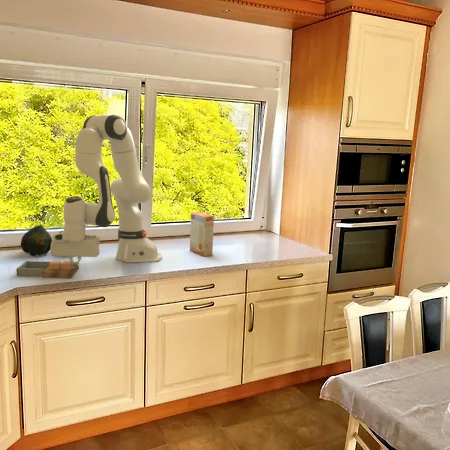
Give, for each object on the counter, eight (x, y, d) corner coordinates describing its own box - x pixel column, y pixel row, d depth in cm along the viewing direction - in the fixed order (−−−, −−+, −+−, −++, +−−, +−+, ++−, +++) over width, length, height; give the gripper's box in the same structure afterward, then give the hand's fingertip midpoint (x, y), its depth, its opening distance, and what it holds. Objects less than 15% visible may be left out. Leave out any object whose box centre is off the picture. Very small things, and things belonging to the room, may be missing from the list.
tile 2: (72, 266, 211) (72, 261, 210) (70, 269, 207) (70, 263, 206) (63, 266, 210) (63, 260, 210) (61, 269, 206) (61, 263, 206)
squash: (15, 248, 226) (36, 223, 228) (15, 242, 240) (35, 219, 242) (40, 265, 232) (61, 241, 234) (38, 259, 245) (58, 236, 248)
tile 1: (61, 266, 210) (61, 260, 210) (58, 269, 206) (58, 263, 206) (52, 266, 210) (51, 260, 210) (49, 268, 206) (49, 263, 206)
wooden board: (79, 268, 216) (79, 263, 216) (71, 278, 202) (71, 272, 202) (52, 268, 215) (51, 263, 215) (42, 277, 202) (42, 272, 201)
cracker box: (213, 255, 248) (214, 215, 244) (203, 257, 245) (204, 216, 241) (199, 249, 259) (200, 211, 255) (189, 250, 256) (190, 212, 252)
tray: (51, 269, 214) (51, 261, 214) (43, 277, 203) (42, 269, 202) (26, 268, 213) (26, 260, 213) (16, 276, 202) (16, 268, 201)
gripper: (100, 233, 210) (101, 264, 212) (52, 232, 208) (53, 263, 211) (98, 237, 203) (98, 268, 206) (48, 235, 202) (49, 267, 205)
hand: (75, 266), depth 208 cm, fingers closed
